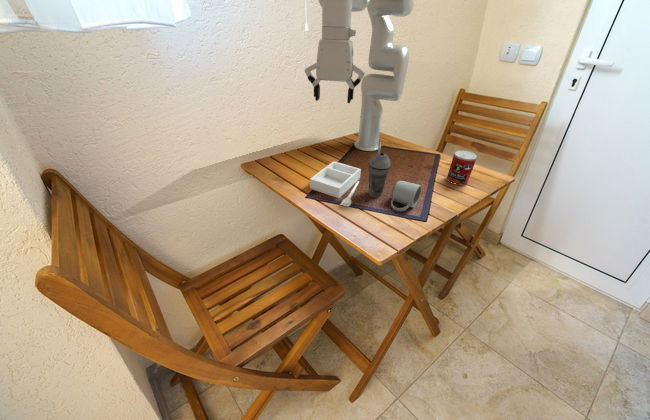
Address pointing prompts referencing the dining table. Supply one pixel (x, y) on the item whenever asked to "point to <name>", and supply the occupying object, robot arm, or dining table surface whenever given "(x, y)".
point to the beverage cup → (378, 173)
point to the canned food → (461, 167)
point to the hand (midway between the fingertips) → (333, 100)
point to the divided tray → (335, 179)
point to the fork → (348, 200)
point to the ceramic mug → (405, 194)
